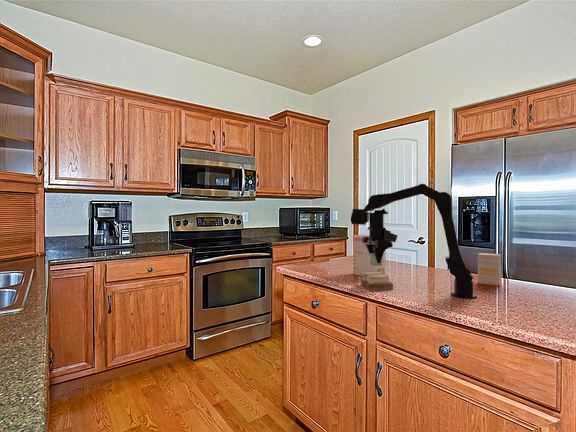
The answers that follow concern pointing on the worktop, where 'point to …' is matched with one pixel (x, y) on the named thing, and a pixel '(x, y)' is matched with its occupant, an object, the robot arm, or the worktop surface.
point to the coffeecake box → (364, 258)
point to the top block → (375, 278)
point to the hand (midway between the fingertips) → (376, 262)
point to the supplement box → (489, 269)
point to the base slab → (377, 286)
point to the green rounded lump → (374, 261)
